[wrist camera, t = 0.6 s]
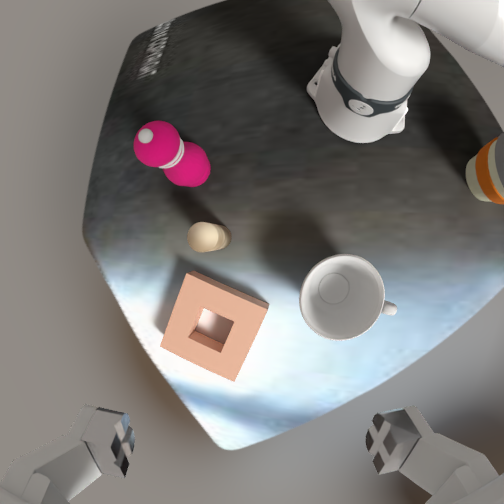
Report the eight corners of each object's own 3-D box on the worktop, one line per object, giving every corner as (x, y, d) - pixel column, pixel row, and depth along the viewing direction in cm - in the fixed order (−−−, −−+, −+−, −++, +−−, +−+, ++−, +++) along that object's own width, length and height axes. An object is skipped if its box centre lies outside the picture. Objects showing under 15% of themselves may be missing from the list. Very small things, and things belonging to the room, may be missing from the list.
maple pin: (213, 221, 50) (194, 217, 39) (235, 230, 50) (221, 228, 39) (204, 243, 51) (183, 245, 40) (226, 252, 50) (209, 257, 39)
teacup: (369, 332, 48) (386, 352, 38) (288, 312, 50) (288, 330, 40) (389, 265, 47) (412, 271, 37) (307, 242, 49) (313, 243, 39)
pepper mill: (167, 181, 51) (106, 153, 31) (184, 144, 50) (133, 100, 30) (202, 196, 50) (153, 172, 30) (220, 158, 50) (182, 113, 30)
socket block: (194, 270, 51) (186, 273, 47) (269, 304, 50) (267, 309, 46) (168, 339, 52) (160, 346, 48) (237, 371, 51) (234, 381, 47)
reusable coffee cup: (504, 164, 43) (549, 149, 28) (497, 219, 44) (545, 216, 29) (462, 137, 44) (504, 113, 29) (453, 195, 45) (501, 183, 30)
